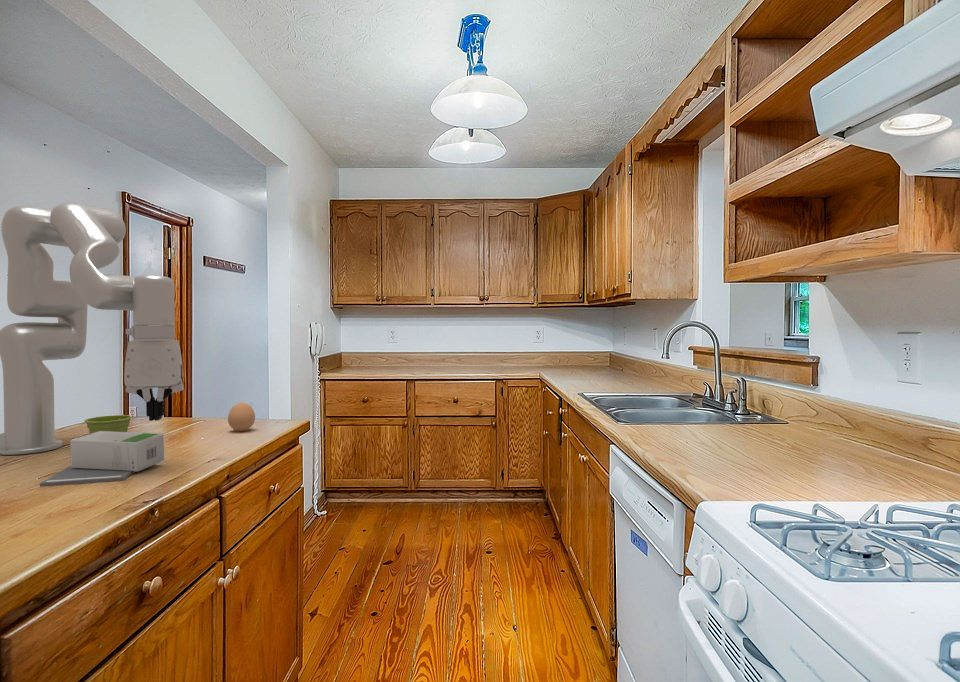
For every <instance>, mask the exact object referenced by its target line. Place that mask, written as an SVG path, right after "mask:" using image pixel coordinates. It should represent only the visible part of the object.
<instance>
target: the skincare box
mask: <svg viewBox="0 0 960 682" xmlns="http://www.w3.org/2000/svg"><path fill="white" fill-rule="evenodd" d="M164 439H165V437H164V433H159V432H158V433H157V432H156V433H154V432H152V433H151V432H133V431H132V432H131V431H130V432H129V431H127V432H110V431H99V432H95V433H92V434H90V433H89V434H85V435H83V436H80V437H79V436H78V437H76V438H72V439H70V440H69V441H70V445H69V446H70V466H71V468H85V469H105V470H123V471H135V472H141V471H142V470H145V469H147V468H149V467H152V466H153V465H156V464H159V463H162V462H163V461H165V445H164Z"/></svg>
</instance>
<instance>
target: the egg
mask: <svg viewBox="0 0 960 682" xmlns="http://www.w3.org/2000/svg"><path fill="white" fill-rule="evenodd" d="M255 421H256V413H255V411H254V409H253V407H252V406H251V405H250V404H249V403H246V402H238V403H235V404H234V405H233V406H232V407H231V408H230V411H229V412H228V414H227V423H228V425H229V426H230V428H231V429H232V430H234V431H235V432H245V431H247V430H250V428H252V427H253V425H254V423H255Z"/></svg>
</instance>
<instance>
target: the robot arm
mask: <svg viewBox="0 0 960 682" xmlns="http://www.w3.org/2000/svg"><path fill="white" fill-rule="evenodd" d="M126 230H127V229H126V224H125V221H124V220H123V218H122V217H121V215H119V213H117V212H115V211H114V210H111V209H107V208H102V207H97V206H92V205H87V204H83V203H78V202H64V203H60V204H58V205H56V206H55V207H53V208H51V209H50V208H46V207H39V206H34V205H33V206H32V205H17V206H13V207H11V208H9V209H8V210H7V211H6V212H5V213H4V215H3V217H2V220H1V229H0V231H1V235H2V240H3V244H4V247H5V249H6V250H5V251H6V256H7V262H8V263H7V283H6V302H7V307H8V309H9V311H10V312H11V313H12V314H14V315H16V316H19V317H27V318H57V322H44V321H43V322H42V321H40V322H37V321H36V322H29V321H27V322H26V321H25V322H24V321H23V322H16V323H15V322H14V323H9V324H7V325H6V326H4V327H2V328H1V329H0V361H1V366H2V380H3V386H2V387H3V388H2V389H3V430H4V431H3V432H1V433H0V455H3V456H11V455H12V456H16V455H28V454H35V453H43V452H47V451H48V452H49V451H52V450H53V451H54V450H56V449H59V448H61V447H62V446H63V443H64V442H63V441H62V440H60V439H55V438H56V437H55V434H56V433H55V429H56V427H55V426H56V425H55V381H54V375H53V374H52V372H51V370H50V369H49V368H48V367H47V366H46V365H45V364H44V363H43V361H53V360H70V359H76V358H78V357H80V356H81V355H82V354H83V353H84V351H85V348H86V344H87V333H88V332H87V327H88V306H90V307H91V308H93V309H95V310H101V311H107V310H108V311H128V312H130V311H131V312H132V320H133V321H132V326H131V327H129V328H125V335H128V336H131V338H132V339H133V340H128V343H127V347H126V353H125V361H124V371H123V372H124V373H123V377H124V378H123V380H124V382H123V383H124V386H125V393H128V394H132V395H133V394H135V395H138V396H139V397H140V398H141V399H142V400H143V401H144V402H145V403H146V404H145V405H146V406H145V408H146V409H145V411H146V417H148V420H149V421H150V422H152V421H160V420H161V419H162V418H163V417H164V416H165V400H166V399H167V398H168V397H169V396H170V395H172V394H173V393H178V392H181V391H182V392H183V390H184V389H185V387H184V384H183V380H184V369H183V368H184V367H183V359H182V353H181V346H180V341H179V340H177V339H176V333H175V332H176V330H175V329H176V328H175V325H176V323H175V322H176V321H175V312H176V311H175V284H174V279H172V278H170V277H168V276H164V275H153V274H150V275H147V274H145V275H144V274H142V275H138V276H131V275H122V274H111V273H102V272H101V270H99V269H102V268H105V267H108V266H110V265H111V264H112V263H114V262H115V261H116V260H117V259H118V257H119V255H120V246H119V244H120V243H121V242H122V241H123V240H124V238H126V237H125V236H126V232H127V231H126ZM42 244H43V245H50V246H58V247H65V248H68V249H69V250H70V251H71V252H72V255H73V257H72V259H71V262H70V265H69V278H70V281H66V280H55V279H54V261H53V259H52V257H51V255H50V253H49V252H48V251H47V250H46V248H45V247H44V246H43V245H42ZM153 388H154V389H157V394H156V397H155V395H154V390H153Z"/></svg>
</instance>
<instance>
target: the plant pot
mask: <svg viewBox="0 0 960 682" xmlns="http://www.w3.org/2000/svg"><path fill="white" fill-rule="evenodd" d="M132 418H133V416H132V415H128V414H114V415H102V416H95V417H89V418H86V419H85V420H84V423H85V424H86V427H87V429H88V432H89V434H92V433H95V432H99V431H110V432H128V429H129V426H130V421H131V419H132Z"/></svg>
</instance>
